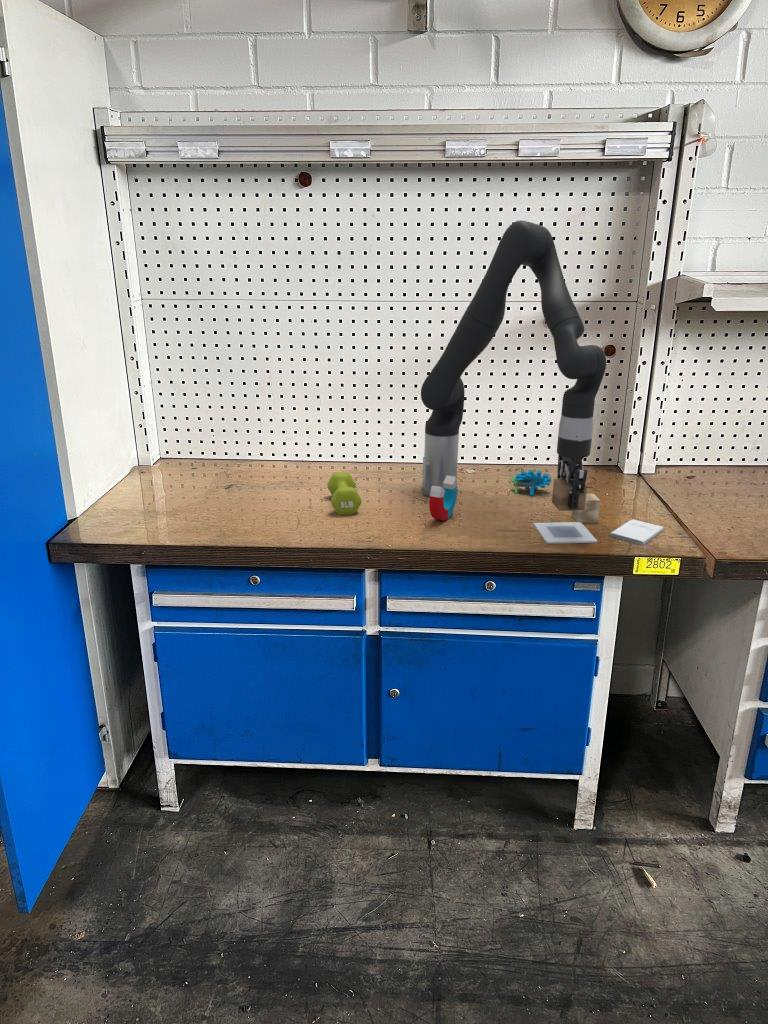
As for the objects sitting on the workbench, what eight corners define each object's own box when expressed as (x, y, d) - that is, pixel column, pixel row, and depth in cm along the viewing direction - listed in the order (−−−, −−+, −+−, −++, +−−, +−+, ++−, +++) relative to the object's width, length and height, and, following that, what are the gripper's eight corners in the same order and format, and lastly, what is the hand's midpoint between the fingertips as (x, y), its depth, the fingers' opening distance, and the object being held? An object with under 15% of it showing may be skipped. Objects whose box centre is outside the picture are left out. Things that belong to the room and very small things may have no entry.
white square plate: (546, 543, 161) (547, 541, 161) (533, 524, 172) (533, 522, 172) (597, 542, 162) (597, 541, 162) (580, 523, 173) (580, 522, 173)
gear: (553, 484, 197) (549, 467, 188) (552, 503, 194) (547, 486, 186) (515, 484, 201) (508, 468, 193) (513, 503, 199) (506, 487, 190)
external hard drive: (609, 538, 166) (630, 524, 175) (642, 547, 161) (663, 532, 170) (609, 532, 165) (631, 518, 174) (643, 541, 160) (664, 526, 169)
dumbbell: (327, 496, 192) (326, 471, 189) (355, 495, 193) (355, 470, 190) (331, 517, 176) (330, 490, 174) (362, 516, 177) (362, 489, 175)
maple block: (577, 523, 174) (580, 500, 172) (571, 515, 178) (574, 494, 176) (597, 522, 174) (600, 500, 172) (590, 515, 179) (593, 493, 177)
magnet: (446, 510, 181) (448, 474, 178) (456, 512, 180) (458, 475, 177) (428, 525, 172) (429, 487, 168) (438, 527, 170) (440, 488, 167)
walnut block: (559, 510, 162) (561, 486, 160) (551, 502, 167) (554, 478, 165) (584, 510, 162) (587, 486, 160) (576, 501, 168) (578, 478, 166)
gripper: (549, 427, 165) (544, 494, 171) (568, 443, 152) (561, 514, 158) (580, 427, 166) (573, 493, 172) (602, 442, 152) (594, 514, 158)
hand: (568, 503), depth 165 cm, fingers closed on walnut block, 6 cm apart
